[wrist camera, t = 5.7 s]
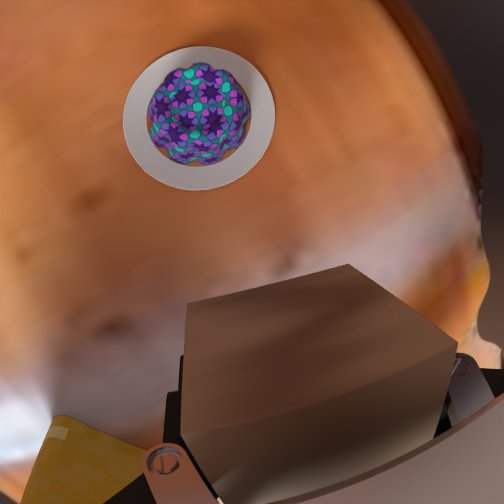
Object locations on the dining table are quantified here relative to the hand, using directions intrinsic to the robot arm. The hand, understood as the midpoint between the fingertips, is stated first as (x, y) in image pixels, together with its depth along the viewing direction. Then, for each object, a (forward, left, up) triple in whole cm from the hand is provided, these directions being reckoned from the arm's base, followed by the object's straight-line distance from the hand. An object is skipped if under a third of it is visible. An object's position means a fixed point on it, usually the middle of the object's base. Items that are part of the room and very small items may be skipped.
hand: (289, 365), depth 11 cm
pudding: (+1, -12, -16) cm, 20 cm away
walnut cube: (0, 0, -1) cm, 1 cm away
